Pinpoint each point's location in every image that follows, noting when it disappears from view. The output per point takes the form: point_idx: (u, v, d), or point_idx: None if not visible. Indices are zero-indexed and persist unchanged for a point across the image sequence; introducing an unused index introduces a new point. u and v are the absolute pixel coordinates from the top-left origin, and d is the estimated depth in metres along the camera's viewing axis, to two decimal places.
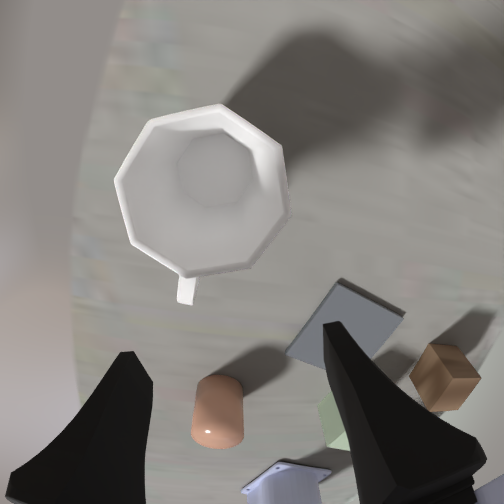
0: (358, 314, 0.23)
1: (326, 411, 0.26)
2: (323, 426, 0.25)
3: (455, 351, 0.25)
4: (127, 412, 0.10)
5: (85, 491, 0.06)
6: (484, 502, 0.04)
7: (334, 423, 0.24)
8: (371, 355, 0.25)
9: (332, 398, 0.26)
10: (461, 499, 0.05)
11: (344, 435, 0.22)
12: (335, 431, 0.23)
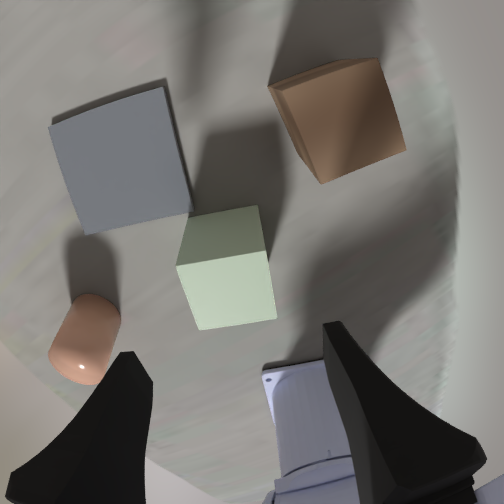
0: (97, 132, 0.15)
1: None
2: None
3: (327, 65, 0.13)
4: (127, 412, 0.10)
5: (85, 491, 0.06)
6: (484, 502, 0.04)
7: None
8: (177, 163, 0.16)
9: None
10: (461, 499, 0.05)
11: (196, 302, 0.15)
12: None
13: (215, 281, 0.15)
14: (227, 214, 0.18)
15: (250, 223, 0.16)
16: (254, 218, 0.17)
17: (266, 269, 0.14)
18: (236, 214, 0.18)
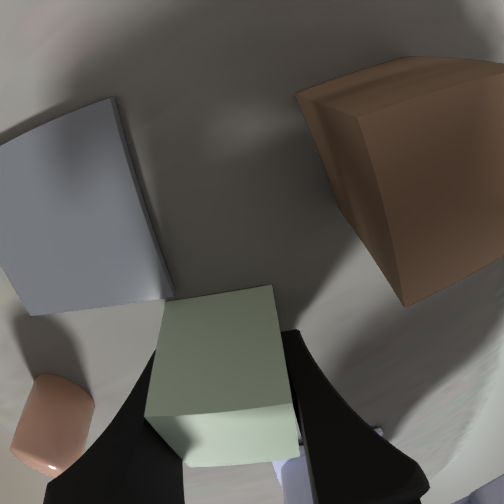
0: (20, 176, 0.08)
1: None
2: None
3: (400, 63, 0.07)
4: None
5: (134, 498, 0.06)
6: (484, 502, 0.04)
7: None
8: (142, 226, 0.10)
9: None
10: None
11: (182, 447, 0.09)
12: None
13: (209, 433, 0.08)
14: (225, 303, 0.11)
15: (263, 330, 0.10)
16: (268, 318, 0.10)
17: (291, 420, 0.08)
18: (239, 305, 0.11)
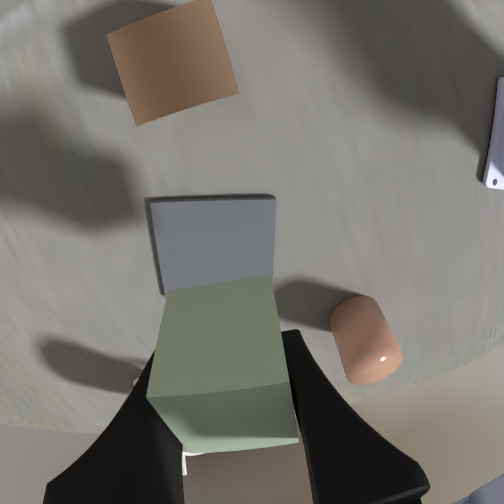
0: (180, 263, 0.20)
1: None
2: None
3: None
4: None
5: (133, 498, 0.06)
6: (484, 502, 0.04)
7: None
8: (223, 203, 0.18)
9: None
10: None
11: (182, 431, 0.09)
12: None
13: (209, 414, 0.09)
14: (225, 291, 0.12)
15: (262, 315, 0.10)
16: (267, 304, 0.11)
17: (288, 401, 0.08)
18: (239, 292, 0.12)
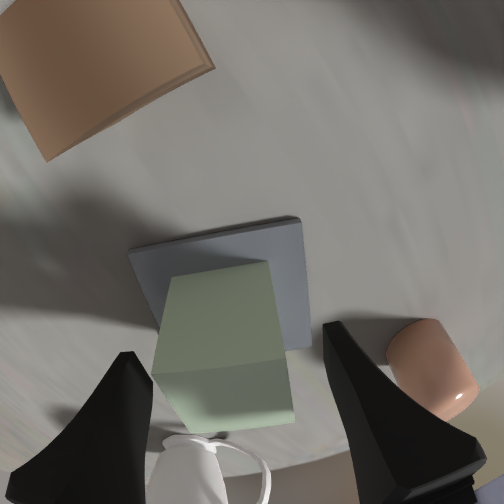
0: None
1: None
2: None
3: None
4: (127, 412, 0.10)
5: (85, 491, 0.06)
6: (484, 502, 0.04)
7: None
8: (227, 240, 0.12)
9: None
10: (461, 499, 0.05)
11: (184, 409, 0.10)
12: None
13: (210, 391, 0.09)
14: (226, 277, 0.13)
15: (260, 298, 0.11)
16: (265, 288, 0.12)
17: (285, 378, 0.09)
18: (238, 278, 0.12)
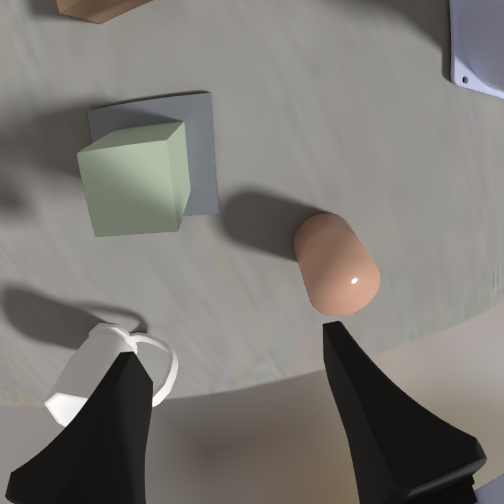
0: None
1: None
2: None
3: None
4: (127, 412, 0.10)
5: (85, 491, 0.06)
6: (484, 502, 0.04)
7: None
8: (156, 102, 0.15)
9: None
10: (461, 499, 0.05)
11: (93, 199, 0.13)
12: None
13: (113, 174, 0.12)
14: (150, 126, 0.15)
15: (167, 129, 0.14)
16: (173, 127, 0.15)
17: (166, 164, 0.12)
18: (158, 126, 0.15)
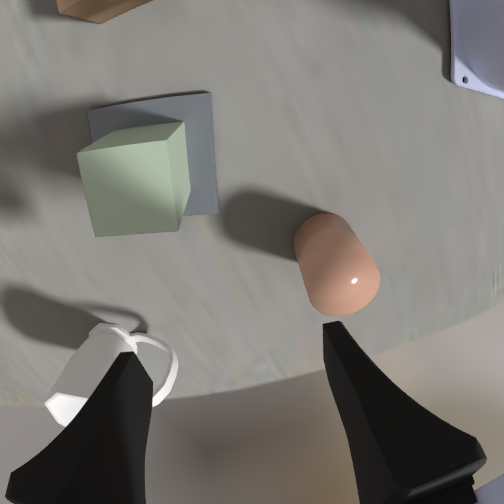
0: None
1: None
2: None
3: None
4: (127, 412, 0.10)
5: (85, 491, 0.06)
6: (484, 502, 0.04)
7: None
8: (156, 102, 0.15)
9: None
10: (461, 499, 0.05)
11: (93, 199, 0.13)
12: None
13: (113, 174, 0.12)
14: (150, 126, 0.15)
15: (167, 129, 0.14)
16: (173, 127, 0.15)
17: (166, 164, 0.12)
18: (158, 126, 0.15)
